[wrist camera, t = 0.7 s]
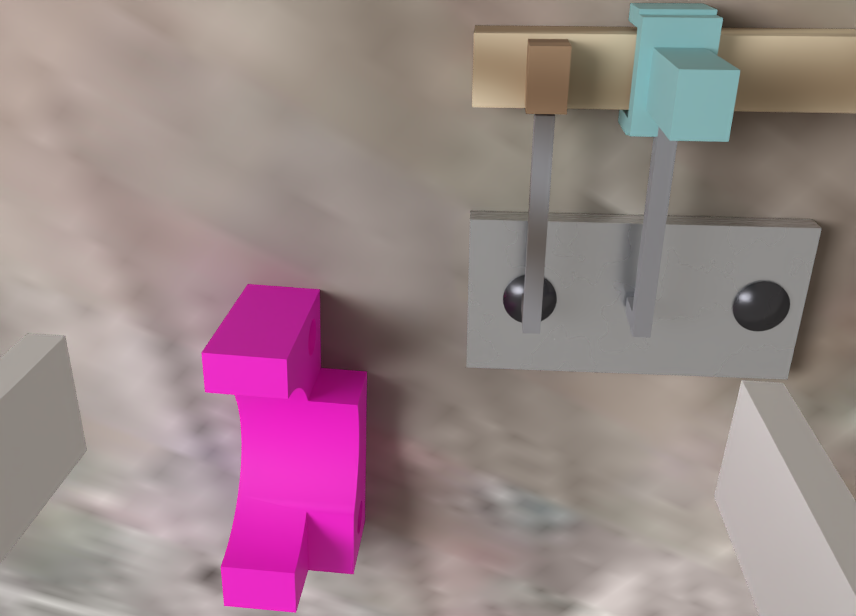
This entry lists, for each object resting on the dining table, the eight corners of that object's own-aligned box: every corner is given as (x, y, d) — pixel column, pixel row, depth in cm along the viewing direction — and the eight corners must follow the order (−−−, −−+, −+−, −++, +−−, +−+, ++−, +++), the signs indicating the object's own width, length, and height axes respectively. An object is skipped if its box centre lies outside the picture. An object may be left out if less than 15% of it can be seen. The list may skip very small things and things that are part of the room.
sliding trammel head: (630, 3, 34) (669, 28, 26) (703, 3, 34) (763, 29, 26) (599, 303, 40) (623, 393, 32) (660, 304, 40) (699, 396, 32)
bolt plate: (470, 211, 39) (469, 220, 38) (812, 219, 38) (822, 229, 37) (467, 355, 42) (466, 368, 41) (779, 367, 41) (788, 380, 40)
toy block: (365, 519, 48) (344, 617, 41) (262, 509, 48) (224, 605, 42) (368, 291, 41) (344, 363, 35) (249, 282, 42) (201, 352, 35)
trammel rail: (475, 25, 35) (472, 39, 31) (854, 28, 34) (902, 44, 30) (468, 295, 41) (465, 337, 37) (793, 305, 40) (826, 349, 36)
